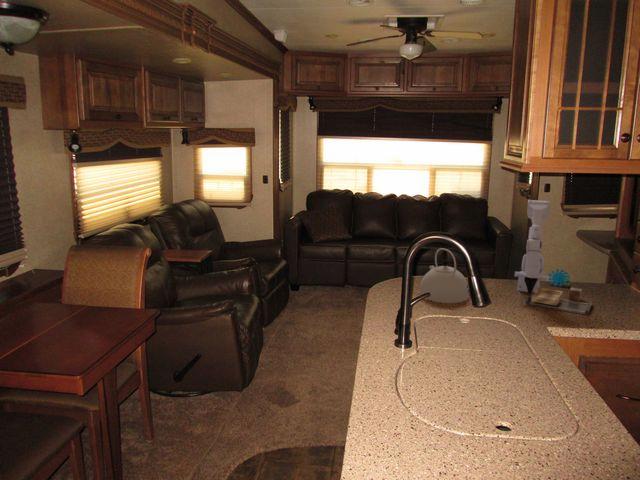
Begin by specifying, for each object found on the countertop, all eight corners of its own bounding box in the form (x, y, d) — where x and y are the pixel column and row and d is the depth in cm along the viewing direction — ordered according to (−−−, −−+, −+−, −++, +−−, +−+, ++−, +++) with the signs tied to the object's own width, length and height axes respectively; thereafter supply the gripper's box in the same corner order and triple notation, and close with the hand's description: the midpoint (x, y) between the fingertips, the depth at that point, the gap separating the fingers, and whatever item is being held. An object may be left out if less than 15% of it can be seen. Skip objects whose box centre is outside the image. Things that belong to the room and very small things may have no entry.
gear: (544, 281, 261) (552, 265, 264) (545, 287, 266) (553, 271, 269) (567, 288, 254) (575, 272, 258) (567, 294, 259) (575, 278, 262)
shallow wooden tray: (530, 302, 230) (531, 296, 229) (537, 293, 243) (538, 287, 242) (556, 307, 224) (557, 300, 224) (562, 297, 237) (563, 291, 236)
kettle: (408, 289, 253) (410, 244, 248) (449, 285, 260) (451, 241, 255) (434, 305, 230) (437, 256, 225) (478, 300, 236) (481, 252, 232)
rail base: (525, 304, 231) (525, 300, 231) (532, 295, 244) (533, 291, 244) (587, 315, 218) (587, 311, 217) (591, 304, 231) (592, 301, 231)
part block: (568, 300, 238) (569, 289, 237) (570, 297, 241) (571, 287, 240) (579, 302, 235) (580, 291, 234) (580, 299, 239) (581, 289, 238)
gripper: (513, 264, 235) (511, 293, 238) (547, 269, 227) (545, 298, 230) (517, 261, 241) (515, 289, 243) (550, 265, 233) (548, 294, 236)
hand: (529, 293), depth 237 cm, fingers closed
